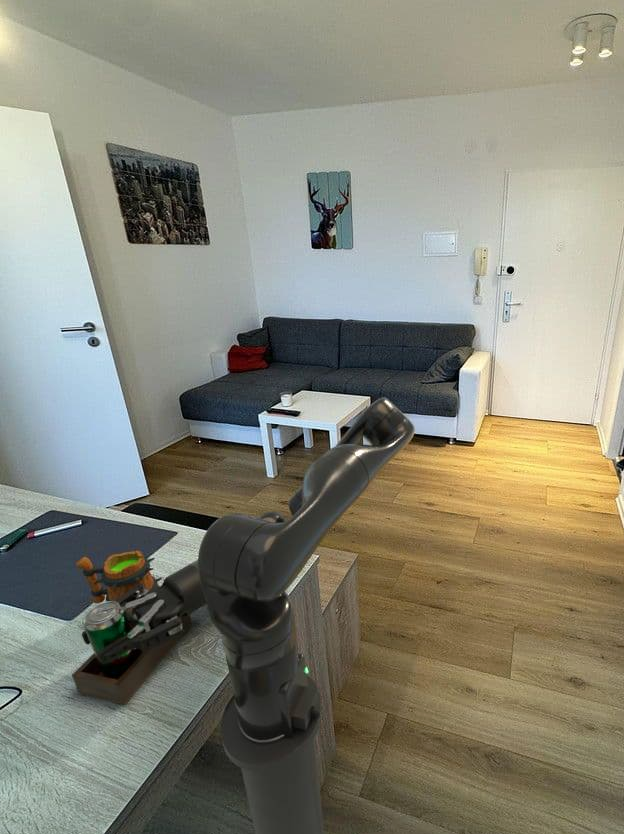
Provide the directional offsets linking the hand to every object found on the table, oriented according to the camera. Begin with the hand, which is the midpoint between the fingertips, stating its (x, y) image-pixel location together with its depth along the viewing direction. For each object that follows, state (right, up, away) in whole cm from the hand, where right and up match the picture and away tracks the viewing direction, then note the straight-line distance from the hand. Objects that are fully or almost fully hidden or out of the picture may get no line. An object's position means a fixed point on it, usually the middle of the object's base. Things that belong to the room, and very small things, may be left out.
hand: (91, 648), depth 64 cm
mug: (-6, -1, +17) cm, 18 cm away
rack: (+2, -5, +8) cm, 10 cm away
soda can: (+2, -6, +5) cm, 8 cm away
